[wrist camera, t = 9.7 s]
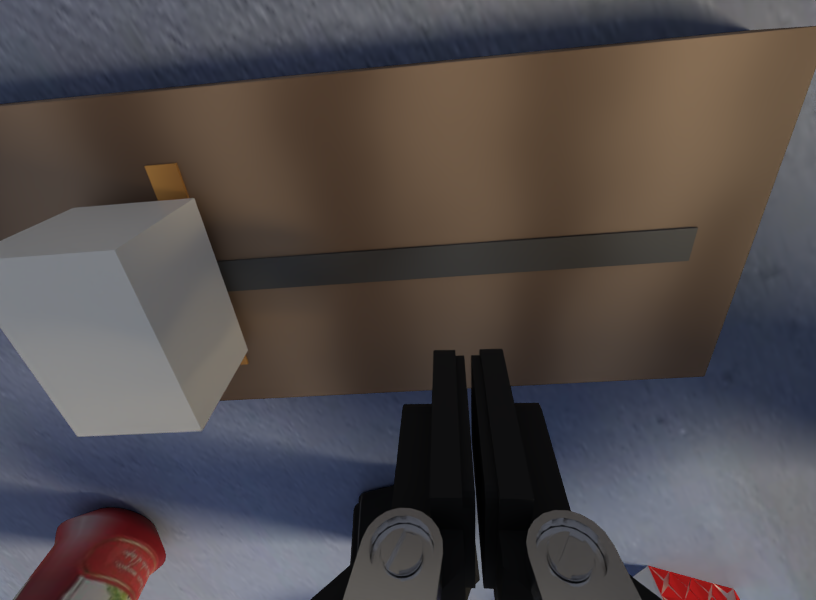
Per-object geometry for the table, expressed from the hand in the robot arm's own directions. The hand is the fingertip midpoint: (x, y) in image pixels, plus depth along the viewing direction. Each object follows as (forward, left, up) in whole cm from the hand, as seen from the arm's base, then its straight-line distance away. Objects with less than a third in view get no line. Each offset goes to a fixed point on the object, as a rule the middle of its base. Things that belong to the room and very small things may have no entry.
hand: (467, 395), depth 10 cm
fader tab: (+10, -1, -5) cm, 11 cm away
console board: (+3, -1, -8) cm, 9 cm away
